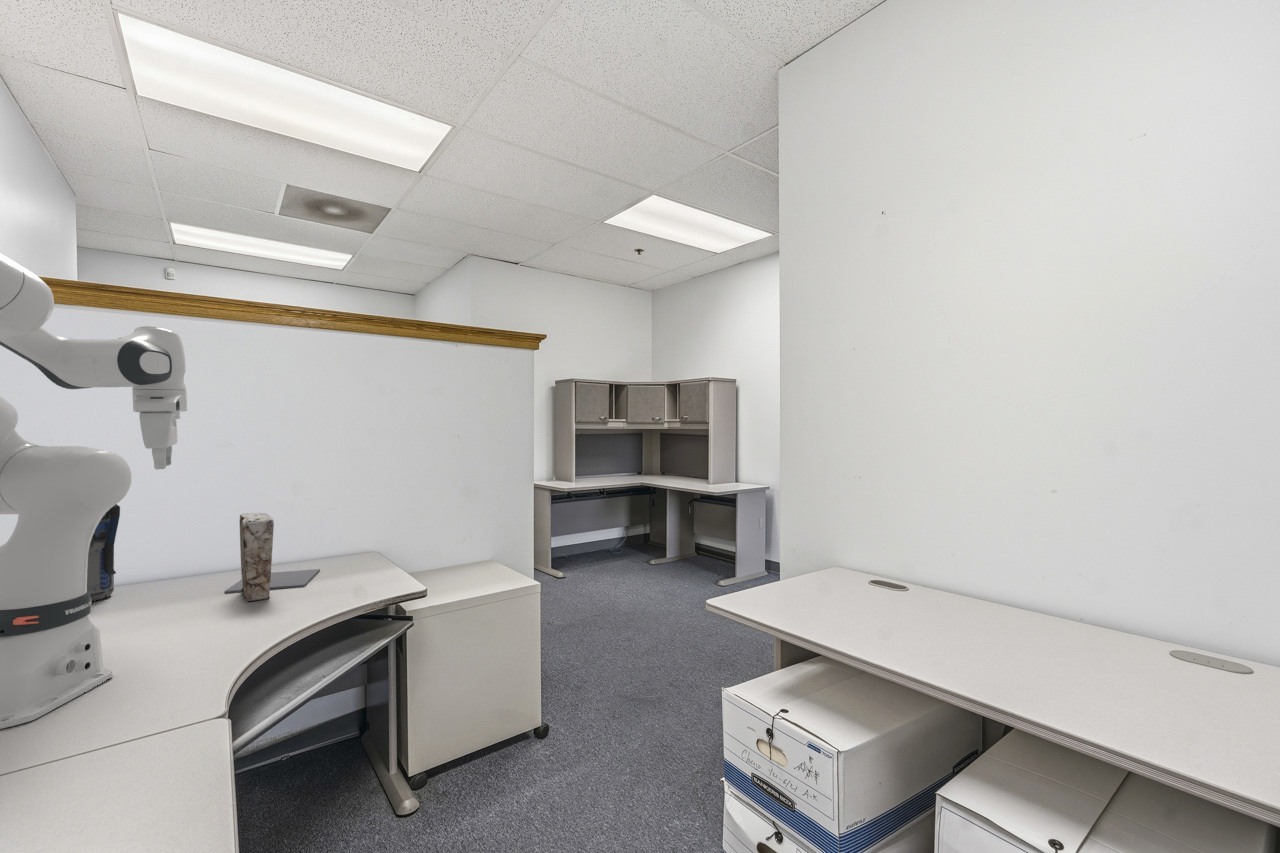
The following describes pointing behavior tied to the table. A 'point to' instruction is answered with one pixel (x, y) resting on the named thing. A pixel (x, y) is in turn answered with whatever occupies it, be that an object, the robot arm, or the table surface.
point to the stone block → (256, 554)
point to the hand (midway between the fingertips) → (163, 467)
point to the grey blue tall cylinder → (102, 556)
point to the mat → (283, 580)
